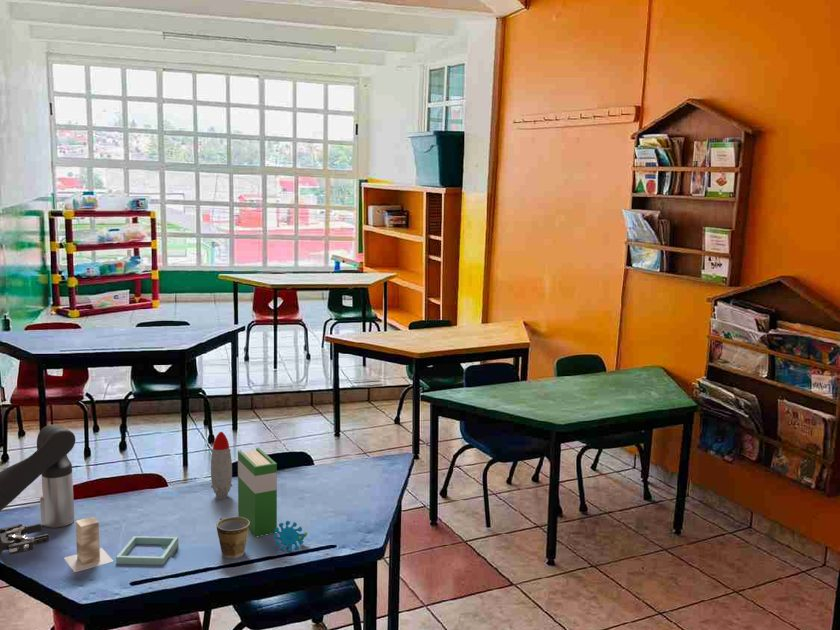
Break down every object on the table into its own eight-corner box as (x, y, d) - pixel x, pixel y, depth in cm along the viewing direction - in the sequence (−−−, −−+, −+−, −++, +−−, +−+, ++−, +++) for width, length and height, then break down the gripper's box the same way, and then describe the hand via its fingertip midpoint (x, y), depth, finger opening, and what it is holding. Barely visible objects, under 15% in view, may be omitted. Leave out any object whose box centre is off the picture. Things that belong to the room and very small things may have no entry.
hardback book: (238, 517, 257) (237, 450, 253) (258, 512, 260) (258, 447, 257) (255, 537, 242) (254, 467, 238) (276, 532, 246) (276, 463, 242)
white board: (74, 577, 213) (74, 572, 213) (63, 562, 221) (63, 557, 221) (113, 565, 220) (113, 561, 220) (101, 552, 229) (101, 547, 228)
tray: (116, 568, 219) (115, 557, 219) (134, 546, 233) (133, 535, 232) (163, 569, 219) (163, 558, 219) (178, 547, 233) (178, 537, 233)
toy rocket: (224, 490, 279) (224, 426, 275) (236, 497, 274) (235, 432, 270) (206, 495, 274) (205, 430, 270) (218, 502, 268) (217, 436, 264)
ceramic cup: (256, 554, 230) (255, 524, 229) (227, 564, 223) (226, 533, 222) (234, 540, 239) (234, 510, 238) (206, 549, 232) (205, 519, 231)
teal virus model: (275, 551, 229) (273, 520, 235) (270, 557, 233) (268, 527, 239) (309, 550, 234) (306, 519, 240) (304, 556, 238) (301, 526, 244)
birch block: (82, 565, 217) (80, 526, 215) (77, 558, 221) (75, 520, 219) (100, 560, 220) (98, 522, 219) (94, 553, 224) (93, 516, 222)
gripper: (-25, 550, 206) (39, 535, 217) (-15, 570, 196) (52, 554, 206) (-26, 525, 205) (38, 511, 216) (-16, 543, 195) (51, 528, 205)
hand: (44, 532), depth 211 cm, fingers open, 8 cm apart
